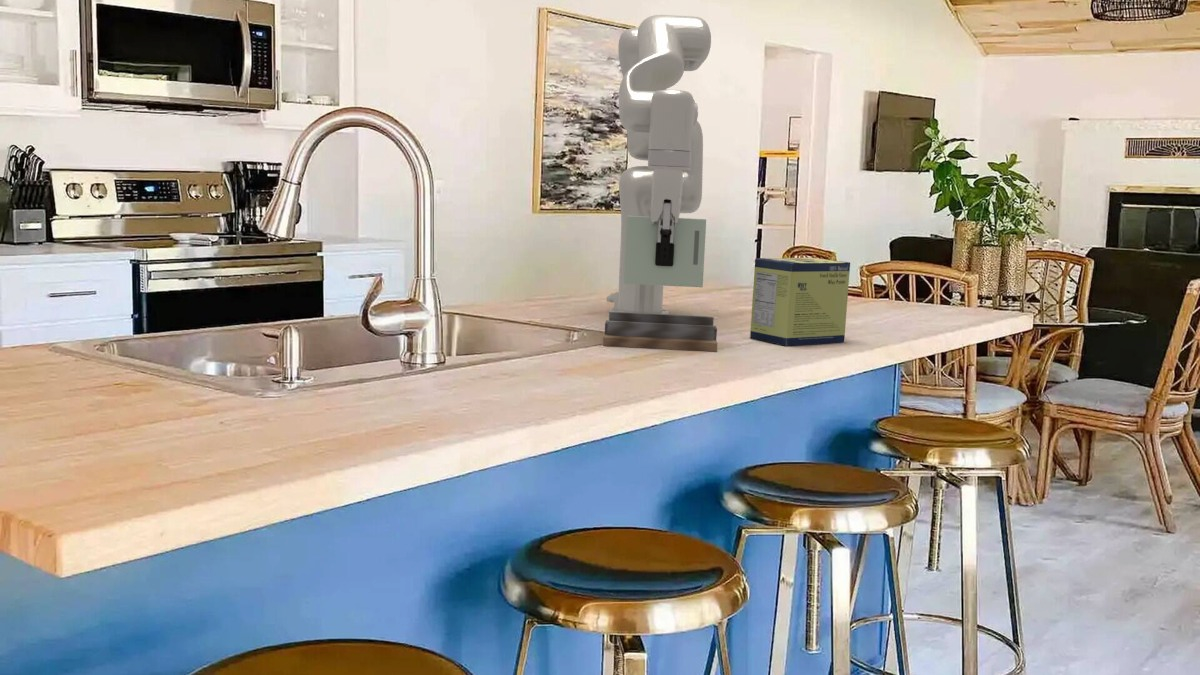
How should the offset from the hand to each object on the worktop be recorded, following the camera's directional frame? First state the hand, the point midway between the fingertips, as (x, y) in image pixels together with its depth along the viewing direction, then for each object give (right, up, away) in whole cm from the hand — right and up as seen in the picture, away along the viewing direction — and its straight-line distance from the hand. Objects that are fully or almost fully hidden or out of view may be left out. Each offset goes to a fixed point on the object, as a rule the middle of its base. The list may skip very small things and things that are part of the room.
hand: (664, 264), depth 211 cm
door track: (-1, -14, +2) cm, 14 cm away
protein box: (+26, -14, +14) cm, 33 cm away
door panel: (0, -4, +1) cm, 4 cm away
